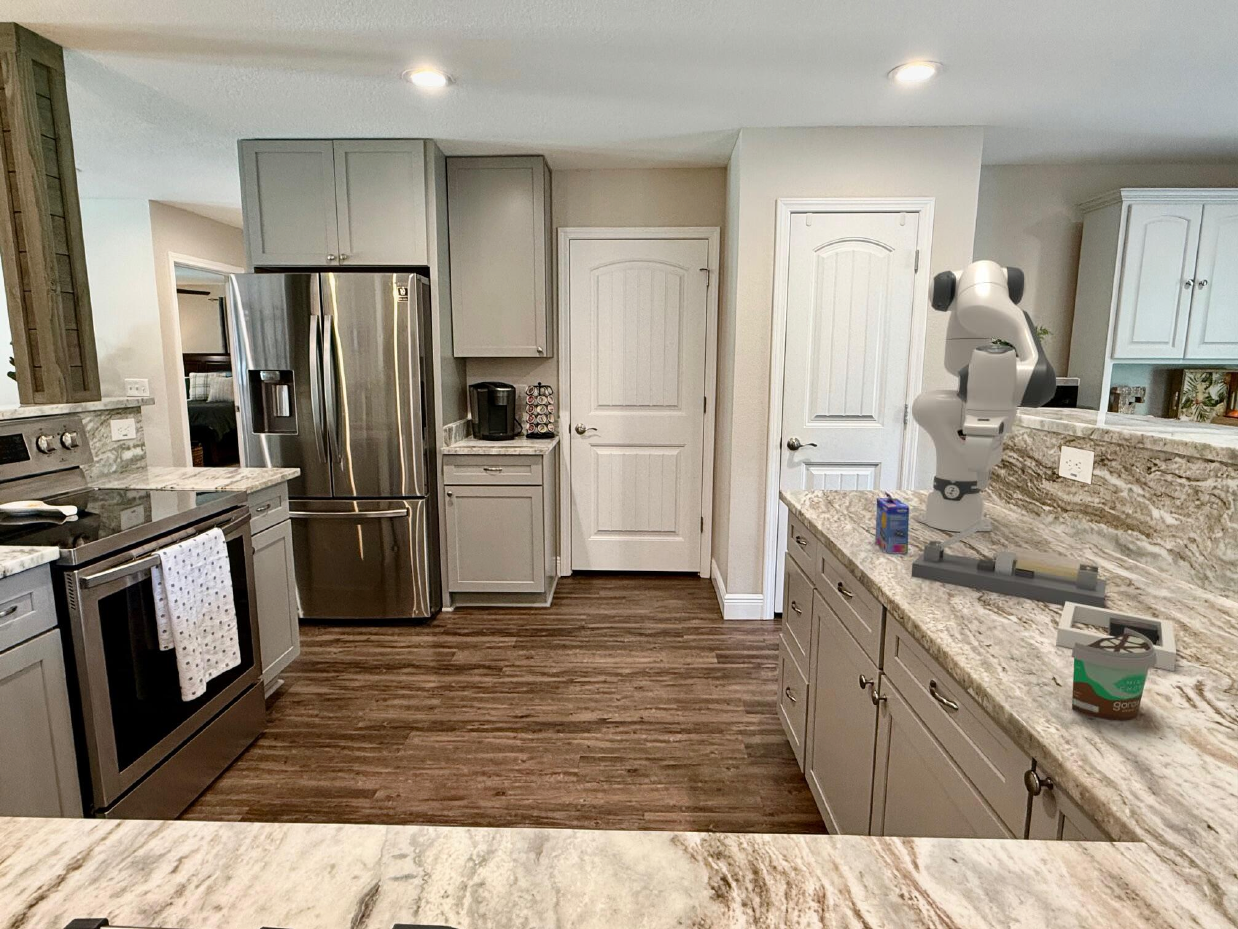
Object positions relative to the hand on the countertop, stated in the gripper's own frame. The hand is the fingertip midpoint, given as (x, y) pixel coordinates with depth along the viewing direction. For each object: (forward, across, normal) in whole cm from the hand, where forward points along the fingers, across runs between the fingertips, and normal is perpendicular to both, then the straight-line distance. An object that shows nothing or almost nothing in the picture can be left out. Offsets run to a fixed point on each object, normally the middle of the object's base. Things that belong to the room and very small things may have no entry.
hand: (982, 488), depth 135 cm
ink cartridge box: (+20, -13, -22) cm, 33 cm away
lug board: (+20, 0, +5) cm, 21 cm away
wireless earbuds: (+21, +17, +27) cm, 38 cm away
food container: (+21, +47, +25) cm, 57 cm away
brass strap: (+16, 0, +14) cm, 21 cm away
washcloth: (+21, -19, +10) cm, 30 cm away
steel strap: (+13, 0, -4) cm, 13 cm away
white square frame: (+21, +20, +24) cm, 38 cm away
